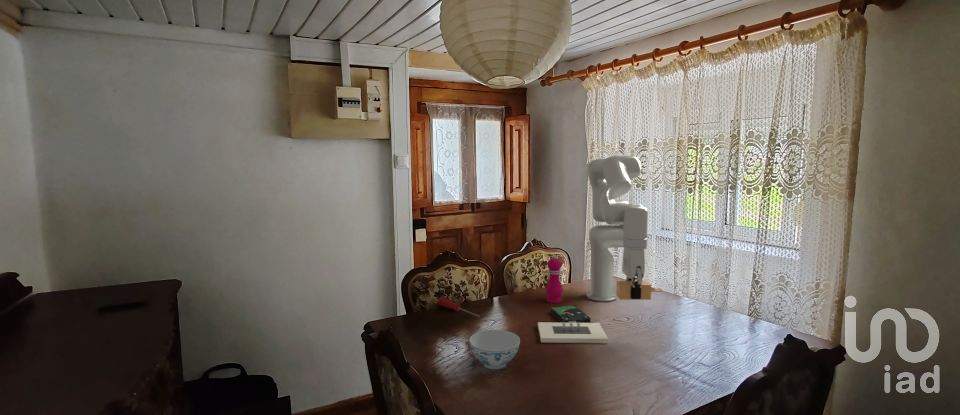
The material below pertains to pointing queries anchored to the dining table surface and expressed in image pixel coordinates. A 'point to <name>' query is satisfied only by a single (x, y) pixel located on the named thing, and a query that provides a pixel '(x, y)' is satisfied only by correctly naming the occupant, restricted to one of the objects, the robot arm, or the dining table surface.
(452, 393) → the dining table surface
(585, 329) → the board
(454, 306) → the screwdriver
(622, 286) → the plug housing
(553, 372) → the dining table surface
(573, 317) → the disk drive
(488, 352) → the chinaware
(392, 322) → the dining table surface
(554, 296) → the pepper mill
